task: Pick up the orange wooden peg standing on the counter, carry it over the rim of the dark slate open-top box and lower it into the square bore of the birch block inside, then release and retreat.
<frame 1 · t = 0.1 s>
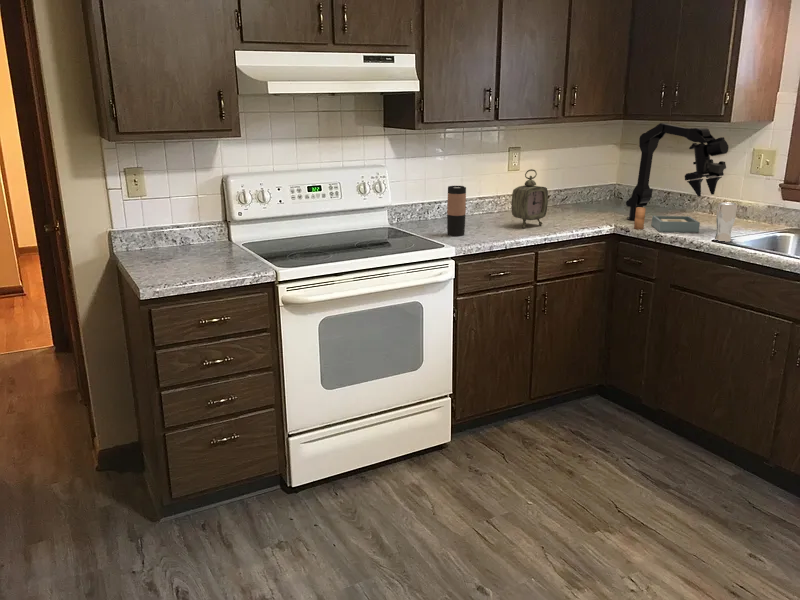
hand: (706, 195, 288), 15 cm above the countertop, tool pointing down, fingers open, 9 cm apart
open box: (674, 229, 297), on the countertop
peg: (638, 228, 299), on the countertop
tabletop clock: (527, 226, 305), on the countertop
beer glass: (722, 241, 275), on the countertop
travel mug: (455, 235, 287), on the countertop
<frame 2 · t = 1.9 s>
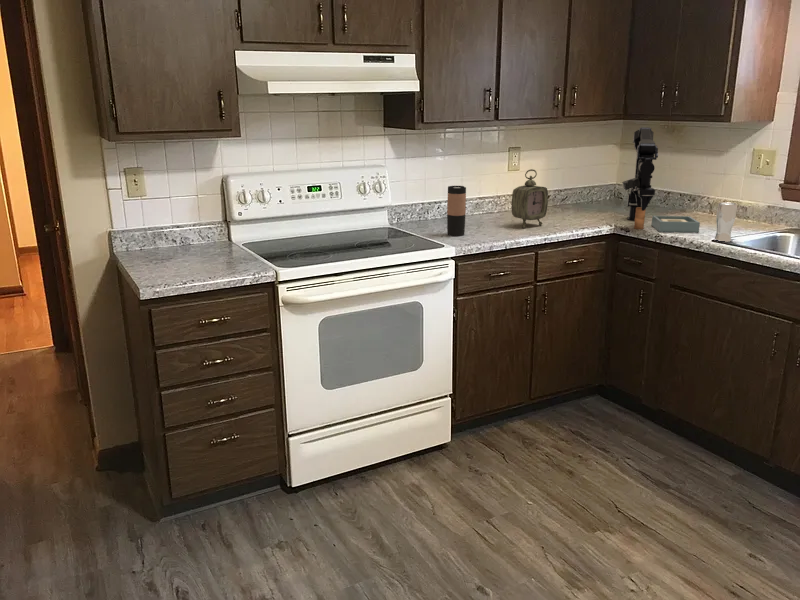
hand: (640, 208, 297), 9 cm above the countertop, tool pointing down, fingers open, 9 cm apart
nothing on the countertop moved.
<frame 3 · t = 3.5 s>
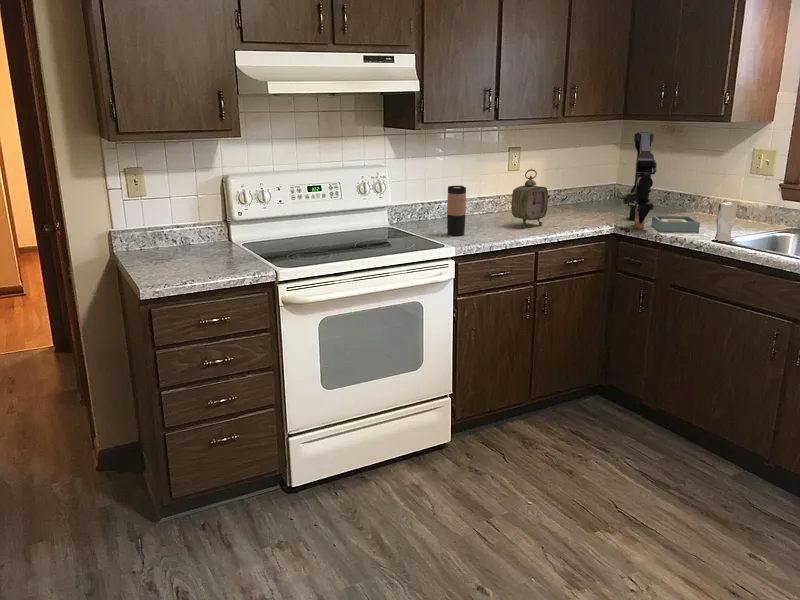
hand: (639, 222, 298), 3 cm above the countertop, tool pointing down, fingers closed on peg, 4 cm apart
peg: (638, 228, 299), on the countertop, touching gripper
everything else where it was.
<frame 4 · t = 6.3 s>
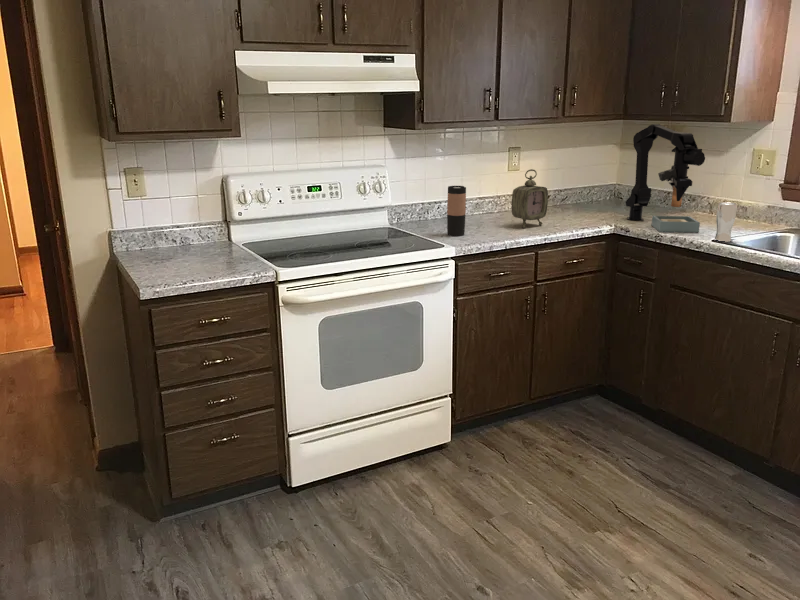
hand: (676, 200, 294), 13 cm above the countertop, tool pointing down, fingers closed on peg, 4 cm apart
peg: (676, 206, 295), point 10 cm above the countertop, touching gripper
everything else where it was.
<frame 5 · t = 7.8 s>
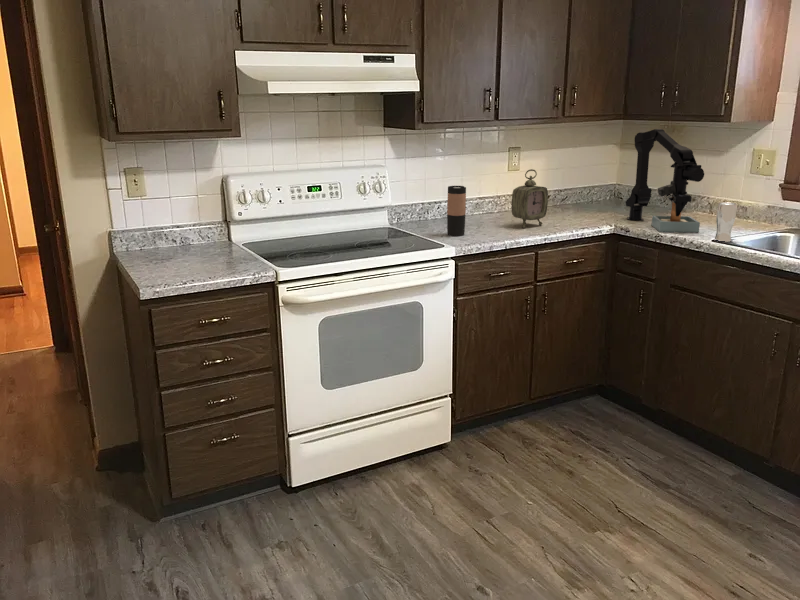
hand: (675, 215, 296), 6 cm above the countertop, tool pointing down, fingers closed on peg, 4 cm apart
peg: (675, 221, 297), point 4 cm above the countertop, touching gripper
everything else where it was.
when the fingers open (5 cm above the countertop, at t = 9.1 s): peg drops 2 cm, resting on open box.
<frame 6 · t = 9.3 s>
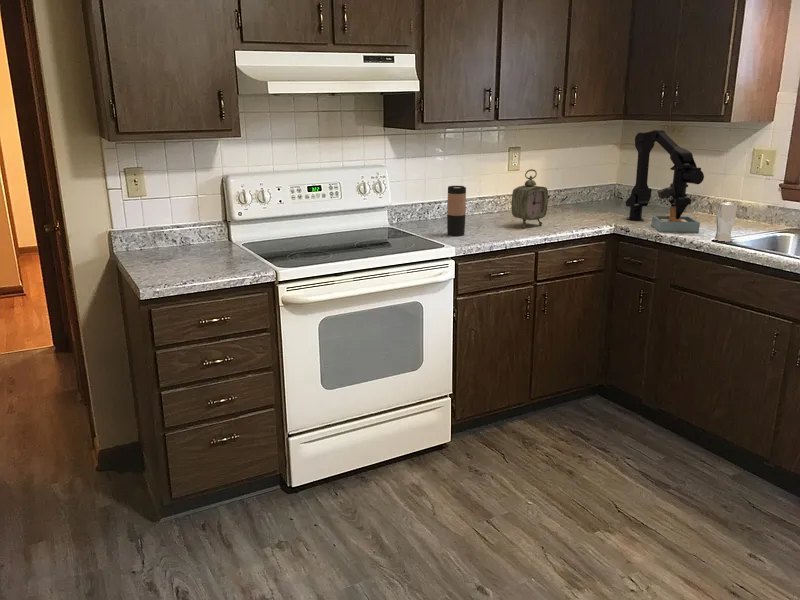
hand: (675, 217, 296), 5 cm above the countertop, tool pointing down, fingers open, 5 cm apart
peg: (674, 227, 297), point 1 cm above the countertop, tilted 7°, touching gripper, open box
everything else where it was.
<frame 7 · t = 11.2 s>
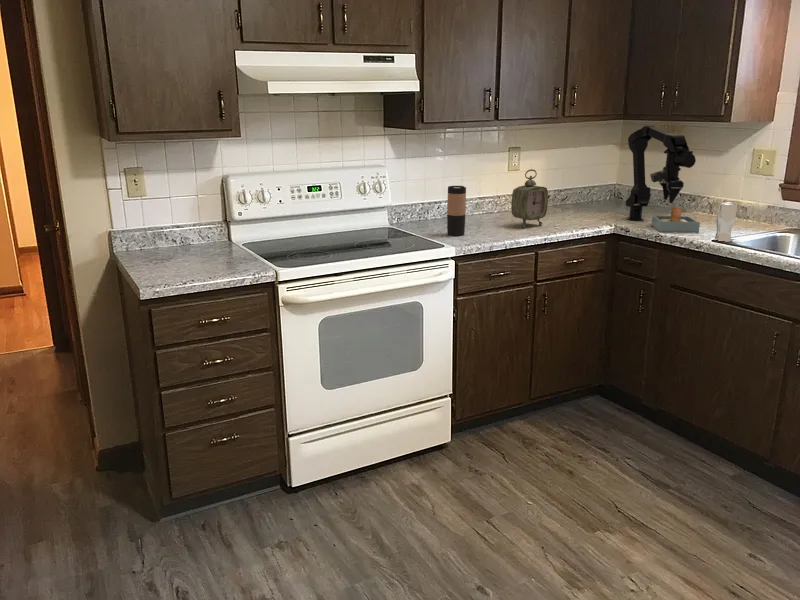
hand: (668, 201, 298), 12 cm above the countertop, tool pointing down, fingers open, 9 cm apart
peg: (674, 228, 297), point 1 cm above the countertop, touching open box
everything else where it was.
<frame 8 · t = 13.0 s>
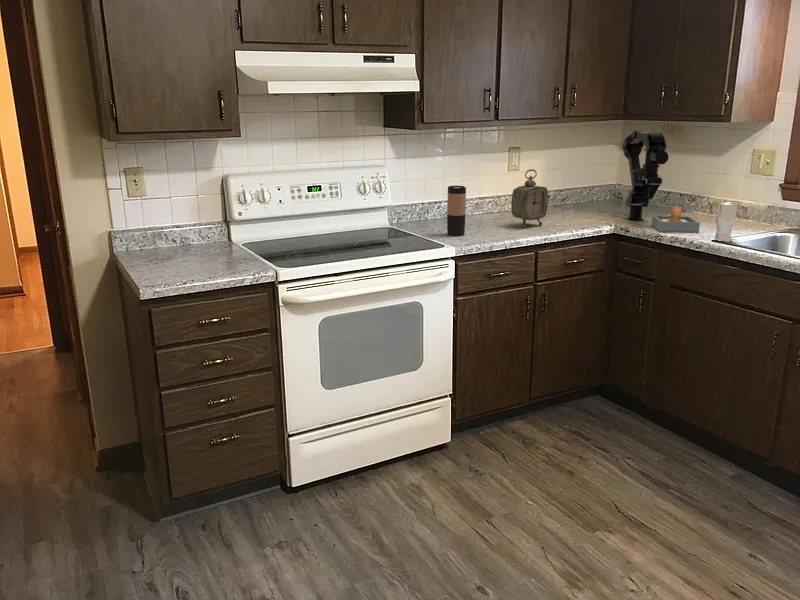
hand: (648, 197, 305), 12 cm above the countertop, tool pointing down, fingers open, 9 cm apart
nothing on the countertop moved.
at the end: peg 0.0 cm off-centre on the open box, point 0.5 cm above the open box's base; peg tilted 0°; the gripper is holding nothing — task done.
